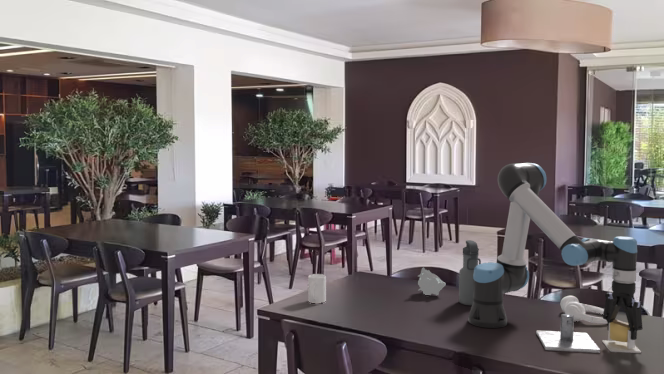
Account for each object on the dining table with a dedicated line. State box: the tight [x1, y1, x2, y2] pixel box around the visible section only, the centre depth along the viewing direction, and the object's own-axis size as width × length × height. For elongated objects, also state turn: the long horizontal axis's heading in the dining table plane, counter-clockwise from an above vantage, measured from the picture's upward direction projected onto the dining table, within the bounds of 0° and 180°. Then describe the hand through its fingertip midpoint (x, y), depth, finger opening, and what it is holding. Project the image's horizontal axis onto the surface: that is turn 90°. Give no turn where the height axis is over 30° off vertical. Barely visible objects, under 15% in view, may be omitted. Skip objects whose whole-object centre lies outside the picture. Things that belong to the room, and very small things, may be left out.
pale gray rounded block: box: [307, 273, 327, 303], centre depth 266 cm, size 8×12×12 cm
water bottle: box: [458, 239, 482, 307], centre depth 266 cm, size 10×10×28 cm
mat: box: [601, 339, 642, 354], centre depth 210 cm, size 10×10×1 cm
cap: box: [610, 318, 634, 342], centre depth 209 cm, size 8×8×6 cm
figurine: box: [417, 267, 446, 296], centre depth 281 cm, size 10×15×14 cm
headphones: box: [559, 295, 608, 325], centre depth 244 cm, size 20×8×20 cm
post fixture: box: [535, 313, 601, 354], centre depth 214 cm, size 18×18×10 cm
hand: (621, 344), depth 210 cm, fingers closed on cap, 8 cm apart
